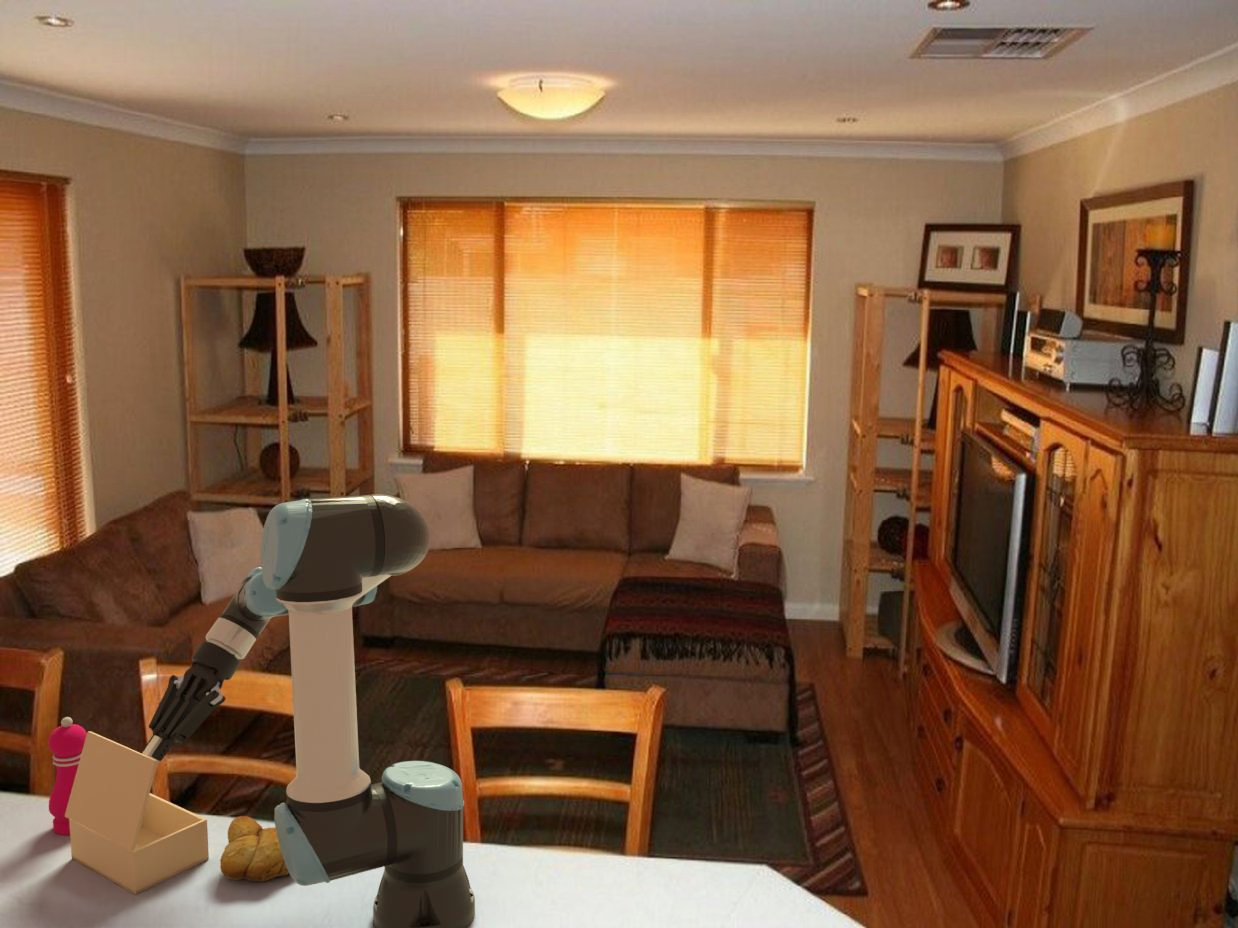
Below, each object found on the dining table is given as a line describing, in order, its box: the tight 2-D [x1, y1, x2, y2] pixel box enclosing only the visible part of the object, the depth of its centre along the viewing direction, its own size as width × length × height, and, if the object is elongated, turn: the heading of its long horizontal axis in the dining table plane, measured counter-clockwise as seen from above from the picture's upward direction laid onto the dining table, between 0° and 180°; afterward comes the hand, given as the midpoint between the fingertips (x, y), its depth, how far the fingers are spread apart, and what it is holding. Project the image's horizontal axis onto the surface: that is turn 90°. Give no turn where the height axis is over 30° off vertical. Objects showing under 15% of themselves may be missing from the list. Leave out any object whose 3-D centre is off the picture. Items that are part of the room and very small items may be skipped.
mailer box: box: [69, 792, 210, 895], centre depth 177 cm, size 18×13×7 cm
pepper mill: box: [47, 716, 87, 836], centre depth 186 cm, size 7×7×20 cm
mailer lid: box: [65, 730, 159, 851], centre depth 172 cm, size 19×14×1 cm
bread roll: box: [219, 815, 290, 882], centre depth 174 cm, size 13×10×8 cm
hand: (138, 775), depth 176 cm, fingers closed
